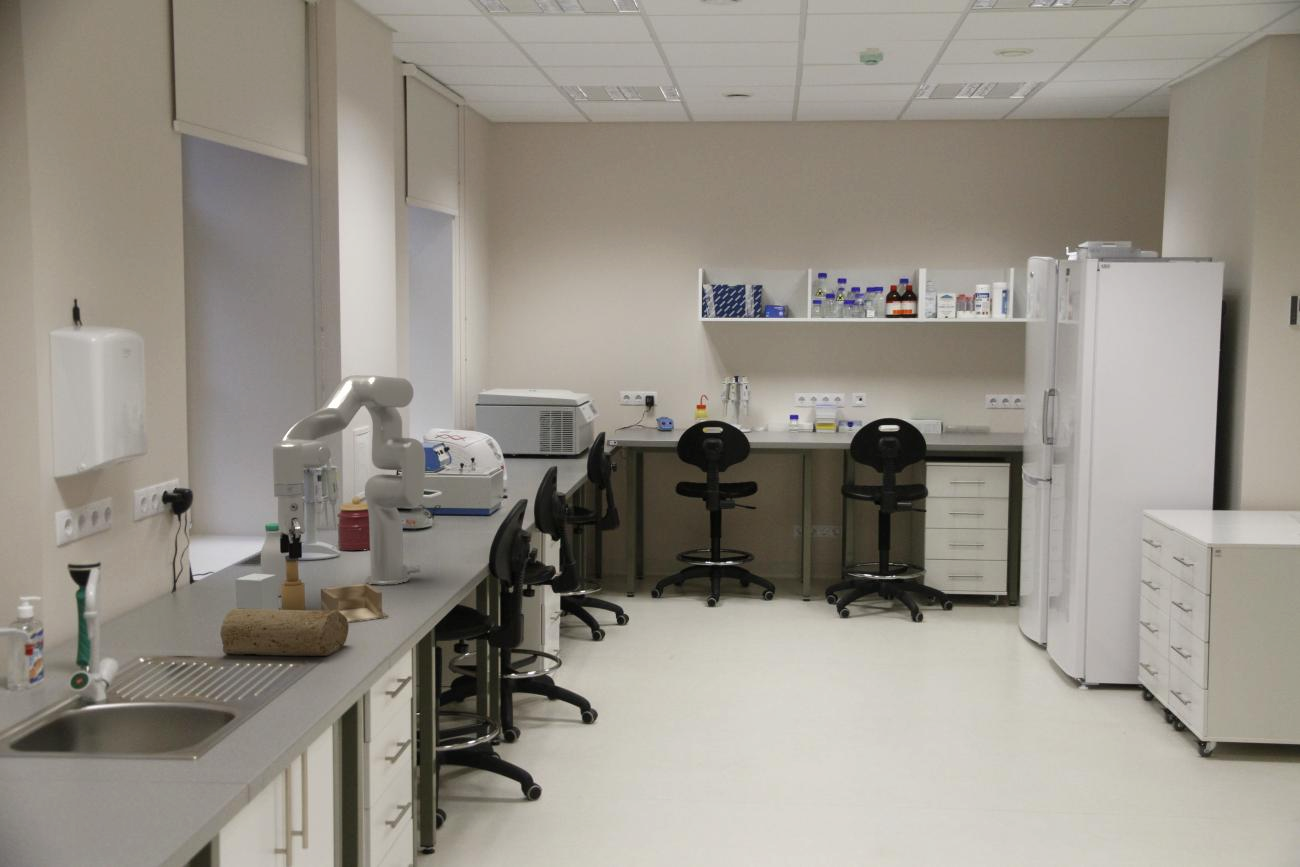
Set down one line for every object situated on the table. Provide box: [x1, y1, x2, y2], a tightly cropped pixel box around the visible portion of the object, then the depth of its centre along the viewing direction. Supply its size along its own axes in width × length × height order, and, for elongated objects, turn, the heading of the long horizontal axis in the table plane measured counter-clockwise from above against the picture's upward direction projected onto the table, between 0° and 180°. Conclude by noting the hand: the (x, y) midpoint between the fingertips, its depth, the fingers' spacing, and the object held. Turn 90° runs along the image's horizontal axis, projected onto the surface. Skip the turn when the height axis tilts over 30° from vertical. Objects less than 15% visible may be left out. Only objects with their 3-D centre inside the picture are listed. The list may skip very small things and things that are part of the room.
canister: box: [336, 496, 370, 551], centre depth 403 cm, size 13×13×18 cm
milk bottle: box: [260, 522, 289, 597], centre depth 332 cm, size 8×8×20 cm
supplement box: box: [235, 573, 280, 610], centre depth 296 cm, size 7×7×13 cm
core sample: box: [219, 608, 350, 657], centre depth 272 cm, size 14×26×10 cm, turn 84°
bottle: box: [280, 555, 307, 610], centre depth 310 cm, size 6×6×15 cm
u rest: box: [320, 583, 389, 623], centre depth 306 cm, size 15×14×7 cm
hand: (291, 555), depth 309 cm, fingers open, 9 cm apart
